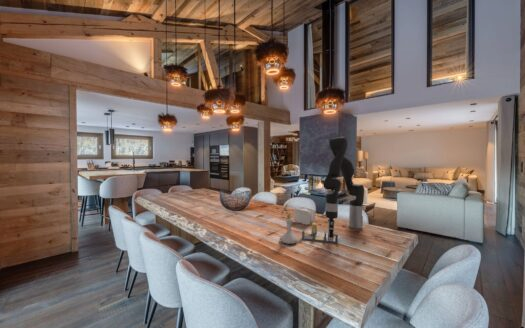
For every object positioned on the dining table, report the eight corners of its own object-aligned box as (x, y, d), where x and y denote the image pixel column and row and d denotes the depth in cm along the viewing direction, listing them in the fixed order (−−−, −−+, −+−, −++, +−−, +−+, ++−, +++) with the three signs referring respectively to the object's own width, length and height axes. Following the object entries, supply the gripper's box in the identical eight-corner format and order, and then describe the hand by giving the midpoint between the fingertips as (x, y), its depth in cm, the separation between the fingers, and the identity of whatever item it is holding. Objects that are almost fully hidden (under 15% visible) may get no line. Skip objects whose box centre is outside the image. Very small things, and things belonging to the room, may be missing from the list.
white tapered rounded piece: (285, 237, 152) (285, 200, 151) (300, 241, 146) (301, 202, 145) (274, 243, 142) (275, 203, 141) (291, 248, 135) (291, 206, 134)
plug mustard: (316, 233, 161) (317, 223, 161) (316, 234, 158) (316, 224, 158) (311, 232, 162) (311, 223, 162) (311, 234, 159) (311, 224, 158)
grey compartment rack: (337, 240, 148) (337, 231, 148) (337, 243, 143) (337, 234, 142) (302, 236, 154) (303, 228, 154) (302, 239, 148) (302, 231, 148)
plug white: (333, 238, 148) (333, 228, 147) (333, 240, 144) (334, 229, 144) (327, 238, 149) (328, 227, 148) (327, 240, 145) (328, 229, 145)
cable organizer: (315, 223, 185) (316, 209, 184) (308, 226, 177) (308, 211, 177) (300, 219, 196) (300, 206, 195) (293, 222, 188) (293, 208, 188)
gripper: (338, 213, 138) (337, 239, 138) (337, 207, 152) (336, 232, 152) (325, 212, 140) (324, 238, 140) (325, 207, 154) (324, 231, 154)
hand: (330, 235), depth 146 cm, fingers open, 7 cm apart
